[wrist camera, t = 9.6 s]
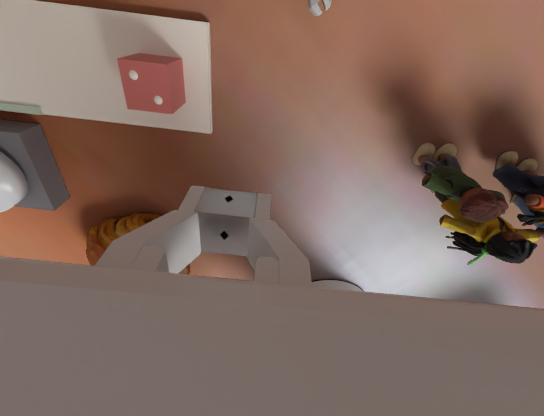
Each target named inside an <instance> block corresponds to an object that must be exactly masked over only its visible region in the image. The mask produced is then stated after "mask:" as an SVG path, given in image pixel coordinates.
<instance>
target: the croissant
mask: <svg viewBox="0 0 544 416" xmlns="http://www.w3.org/2000/svg"><path fill="white" fill-rule="evenodd" d="M159 217H161V216H160V215H157V214H145V213H142V214H137V213H132V214H131V216H126V217H123V218H122V217H113V218H110V219H107V220H103V223H101V224H100V225H99V226H98V227H96V226H94V227H91V228H90V231H89V232H88V234H87V249H86V254H87V258H88V261H89V263H90V264H91V265H93V266H94V265H95V264H96V263H97V261H98V260H99V259H100V257H101V256H102V255H103V253H104V252H105V251H106V249H107V248H108V247H109V246H110V244H111V243H112V242H113V240H115V239H117V238H119V237H121V236H123V235H125V234H127V233H129V232H131V231H133V230H135V229H137V228H139V227H141V226H143V225H145V224H147V223H149V222H151V221H153V220H155V219H157V218H159ZM189 273H190V264H188V265H187V266H186V267H185V268H184V269H183V270H181V271H180V272H179V273H178V274H186V275H189Z"/></svg>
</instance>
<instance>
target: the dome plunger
mask: <svg viewBox="0 0 544 416" xmlns="http://www.w3.org/2000/svg"><path fill="white" fill-rule="evenodd" d="M27 194H28V183H27V180H26V178H25V176H24V174H23V172H22V171H21V170H20V168H19V167H18V166H17V165H16V164H15V163H14V162H13V161H12V160H11V159H10V158H9V157H7V156H6V155H5V154H3V153H2V152H0V212H4V211H6V210H8V209H10V208H11V207H13V206H14V205H16V204H17V203H18V202H20V201H21V200H23V199H24V198H25V197H26V196H27Z"/></svg>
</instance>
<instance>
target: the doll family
mask: <svg viewBox="0 0 544 416" xmlns="http://www.w3.org/2000/svg"><path fill="white" fill-rule="evenodd" d="M456 153H457V148H456V146H455V145H454V144H451V143H448V144H445V145H443V146H442V147H441V148H439V149H438V150H437V151H436V148H435V146H434V145H433V144H431V143H425V144H422V145H421V146H420V147H419V148H418V150H417V151H416V153H415V154H414V156H413V158H412V162H413V163H414V164H415V165H421V167H422V169H423V170H424V171H426V172H429V173H428V174H427V176H426V177H424V178H423V180H422V186H424V187H426V188H428V189H431V190H432V193H433V194H435V196H436V197H437V198H438V199H439V200H440V201H441V202H442V203H443V204H442V205H441V207H442V208H443V209H445V210H446V211H447V212H449V213H450V214H451V215H452V216H453V217H454V218H452V217H450V216H448V215H444V216H443V217H441V218H440V226H443V227H446V228H449V229H451V230H454V231H455V232H454V233H452V232H451V234H452V235H454V236H453V237H449V236H446V238H454V240H455V241H453V244H454V245H456V246H458V247H461V248H457V247H451V246H448V247H447V248H449V249H458V250H464V251H467V252H468V253H470V254H472V255H474V256H478V257H476V258H475V259H473V260H471V261H470V262H468V264H467V265H473V263H474V262H476V261H477V260H479V259H481V258H482V257H484V256H485V255H486V254H490V255H492V256H495V257H496V258H497V259H499V260H503V261H505V262H509V263H522V262H524V261H525V259H528V258H529V257H530V256H531V254H532V252H533V250H534V249H535V248H536V247H537V244H535V243H532V242H534V241H537V240H538V239H539V238H540V236H542V237H544V176H537V175H535V174H534V173H533V172H534V171H535V170H536V169H537V168H538V163H537V161H536V160H534V159H526V160H524V161H522V162H521V163H520V164H519V165H518V166H517V167H516V166H514V164H515V163H516V161H517V160H518V154H517V153H516V152H514V151H509V152H505V153H503V154H502V155H501V156H499V158H498V160H497V164H496V170H495V171H494V172H493V176H494V177H495V178H497V179H498V180H499V181H500V182H501V183H502V184H503V185H504V186H505V187H506V188H507V189H509V190H510V191H511V192H513V193H514V196H513V198H512V199H511V201H510V203H511V204H512V205H516V206H518V207H519V209H520V210H521V211H522V212H523V214H524V215H522V214H518V216H517V218H518V219H519V221H521V222H525V223H524V224H522V226H525V225H532V224H534V225H535V226H536V227H537V229H536V230H533V229H514V228H513V226H512V225H511V224H509V223H508V222H507V221H505V220H504V219H503V218H501V217H500V215H501V214H504V213H505V210H506V209H507V208H509V207H508V204H507V203H506V200H505V198H504V195H503V194H502V193H500V192H497V191H492V190H486V189H483V188H481V186H480V185H479V184H478V183H477V182H476V181H475V180H473V179H472V178H470V177H468V176H467V175H465V174H464V173H463V172H462V171H461V168H460V165H459V163H458V161H457V159H456V158H455V157H454V156H455V155H456Z"/></svg>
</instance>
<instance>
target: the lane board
mask: <svg viewBox="0 0 544 416" xmlns="http://www.w3.org/2000/svg"><path fill="white" fill-rule="evenodd" d="M137 53H144V54H152V55H160V56H168V57H176V58H182V62H183V75H184V87H185V99H186V103H185V104H184V105H182V106H181V107H180V108H179V109H178V110H177V111H176V112H174V113H173V114H165V113H156V112H148V111H140V110H131V109H127V104H126V100H125V95H124V90H123V85H122V81H121V76H120V71H119V66H118V61H117V58H121V57H125V56H129V55H133V54H137ZM0 110H2V111H11V112H19V113H28V114H36V115H42V114H46V115H54V116H63V117H71V118H80V119H88V120H97V121H105V122H114V123H123V124H131V125H140V126H148V127H157V128H165V129H174V130H182V131H191V132H199V133H208V134H211V133H212V132H213V121H212V83H211V45H210V23H209V22H202V21H194V20H186V19H178V18H170V17H163V16H155V15H147V14H139V13H132V12H124V11H116V10H108V9H100V8H93V7H85V6H77V5H69V4H62V3H54V2H46V1H38V0H0Z"/></svg>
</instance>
